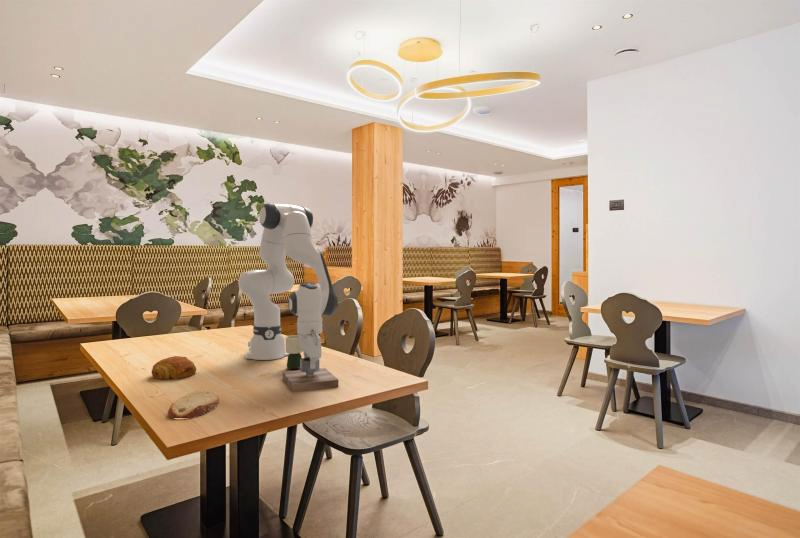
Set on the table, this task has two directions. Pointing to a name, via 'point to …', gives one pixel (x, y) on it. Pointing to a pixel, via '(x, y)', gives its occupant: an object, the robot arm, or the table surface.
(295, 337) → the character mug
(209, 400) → the bread slice
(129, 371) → the table surface
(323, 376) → the post stand
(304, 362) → the steel ring
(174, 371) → the croissant
